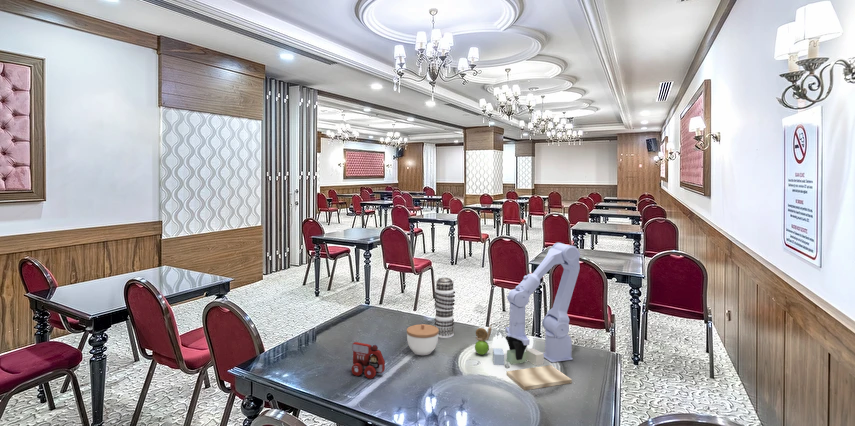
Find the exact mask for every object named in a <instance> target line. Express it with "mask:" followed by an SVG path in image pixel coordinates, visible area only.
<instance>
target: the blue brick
mask: <svg viewBox="0 0 855 426" xmlns="http://www.w3.org/2000/svg"><path fill="white" fill-rule="evenodd" d="M492 360H493V365H495V366H505V353H504V351H503V348H495V347H494V348H492Z"/></svg>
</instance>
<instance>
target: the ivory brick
mask: <svg viewBox="0 0 855 426" xmlns="http://www.w3.org/2000/svg"><path fill="white" fill-rule="evenodd" d="M525 352H526V361H527V360H528V361H527V362H529V363H530V364H533V365H535V367H538V366H540V365H544V359H545V358H544V354H543V353H544V352H541V351H539V350H538V349H536V348H534V347H532V348H528V349H525Z"/></svg>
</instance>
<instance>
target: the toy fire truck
mask: <svg viewBox="0 0 855 426" xmlns="http://www.w3.org/2000/svg"><path fill="white" fill-rule="evenodd" d="M378 348H379V347H378V345H376V344H374V345H371V344H368V343H363V342H359V341H358V342H357V341H355V342H353V343H352V344H351V350H352V353H353V354H352V366H351V369H350V370H351V373H352V374H353V375H354V376H355V377H356V376H358V377H359V376H361V375H362V374H363V373H364V376H365V377H366V378H367V379H371V380H372V379H374V377H376V375H377V373H378V374H382V373H383V372H385V370H386V368H385V367H386V366H385V365H386V361H385V359H384V357H383V353H382V352H381V350H379V349H378Z"/></svg>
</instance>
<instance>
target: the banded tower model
mask: <svg viewBox="0 0 855 426" xmlns="http://www.w3.org/2000/svg"><path fill="white" fill-rule="evenodd" d="M435 283H436V285H435V291H434V299H433V300H434V310H435V318H434V326H435V327H437V328H438V329H439V333H438V338H440V339H449V338H452V337H454V335H455V334H454V333H455V331H454V329H455V327H454V324H455V322H454V321H455V319H454V310H455V307H454V305H455V303H454V302H455V299H454V298H455V297H456V295H455V294H456V291H455V290H454V283H455V282H454V280H452V279H451V278H450V277H439V278H438V279H437V280H436V281H435Z"/></svg>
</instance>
